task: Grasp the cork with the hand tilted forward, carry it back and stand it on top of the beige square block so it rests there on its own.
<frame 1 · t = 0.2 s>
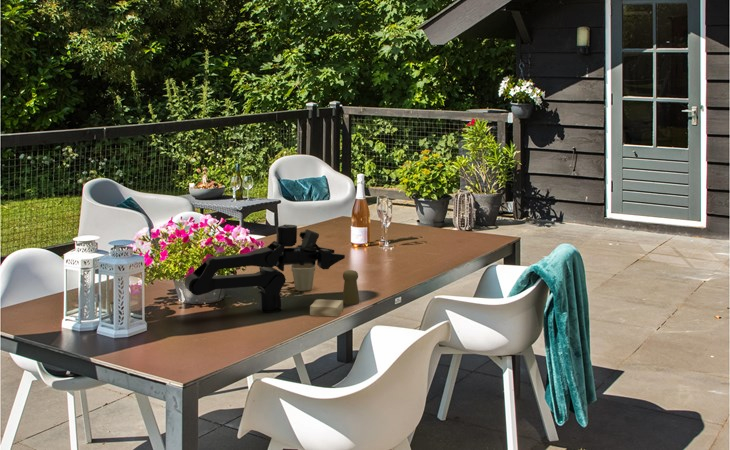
hand: (339, 253, 322), 17 cm above the table, tool horizontal, fingers open, 9 cm apart
beige square block: (326, 312, 312), on the table
flower pot: (303, 289, 342), on the table
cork: (350, 302, 324), on the table
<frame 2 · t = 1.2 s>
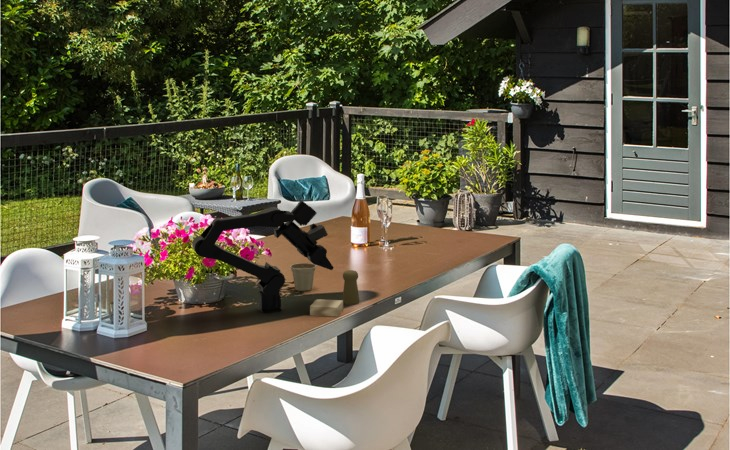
hand: (328, 266, 319), 13 cm above the table, tool tilted 45°, fingers open, 9 cm apart
nothing on the table moved.
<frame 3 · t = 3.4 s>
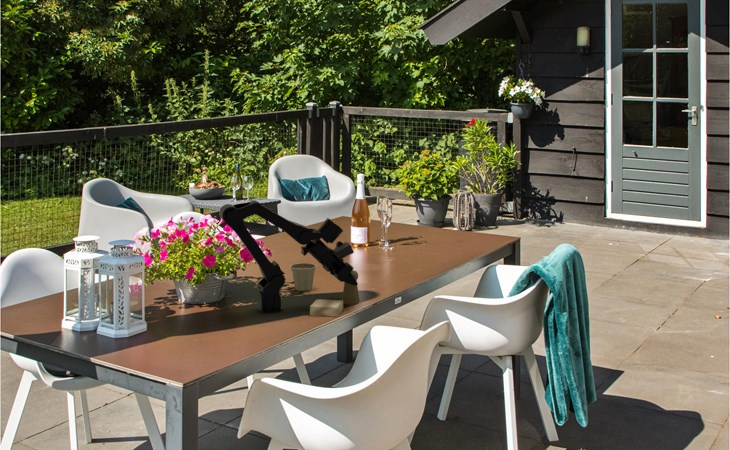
hand: (354, 283, 323), 7 cm above the table, tool tilted 45°, fingers closed on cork, 5 cm apart
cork: (350, 302, 324), on the table, touching gripper
everything else where it was.
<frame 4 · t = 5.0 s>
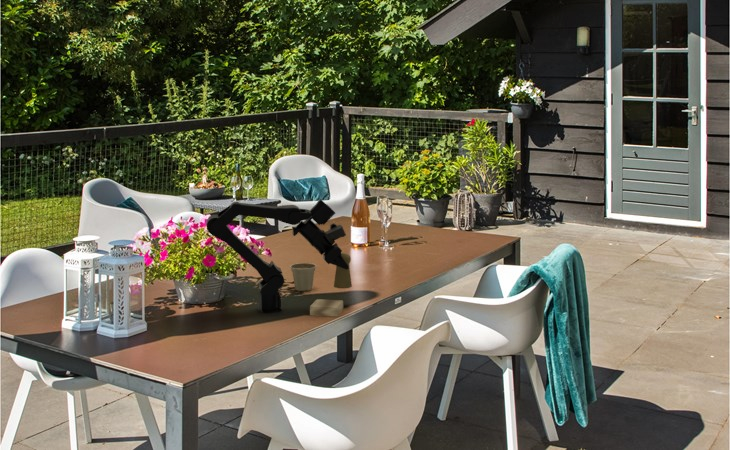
hand: (346, 266, 317), 13 cm above the table, tool tilted 45°, fingers closed on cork, 5 cm apart
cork: (342, 286, 318), point 7 cm above the table, touching gripper
everything else where it was.
when the fingers open (10 cm above the table, at t = 6.8 s): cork stays where it is, resting on beige square block.
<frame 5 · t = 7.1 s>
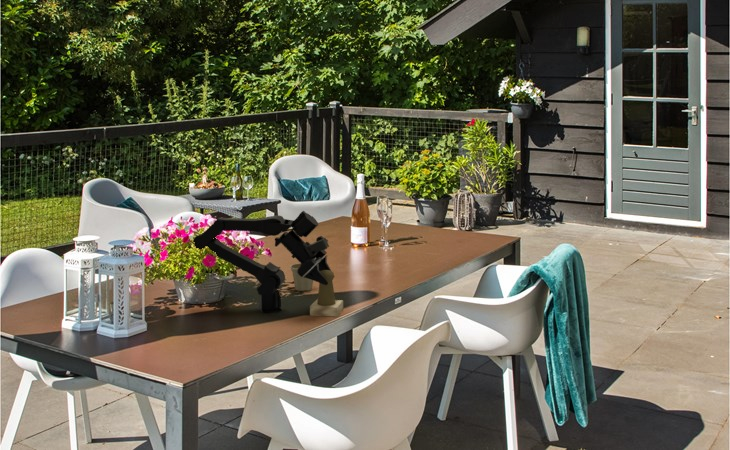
hand: (330, 281, 310), 11 cm above the table, tool tilted 45°, fingers open, 9 cm apart
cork: (326, 303, 311), point 3 cm above the table, touching beige square block
everything else where it was.
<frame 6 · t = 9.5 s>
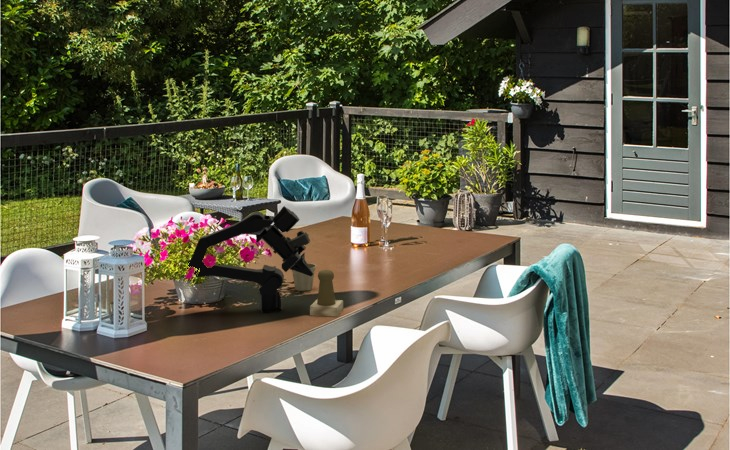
hand: (312, 275, 312), 12 cm above the table, tool tilted 45°, fingers closed
nothing on the table moved.
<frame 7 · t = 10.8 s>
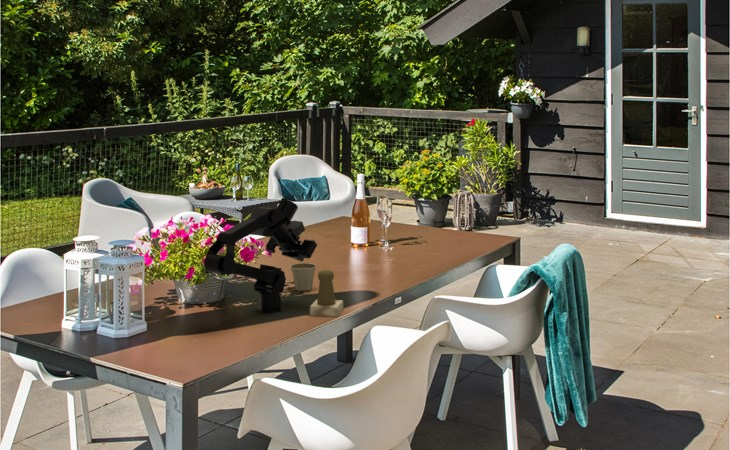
hand: (302, 260, 327), 14 cm above the table, tool tilted 45°, fingers closed
nothing on the table moved.
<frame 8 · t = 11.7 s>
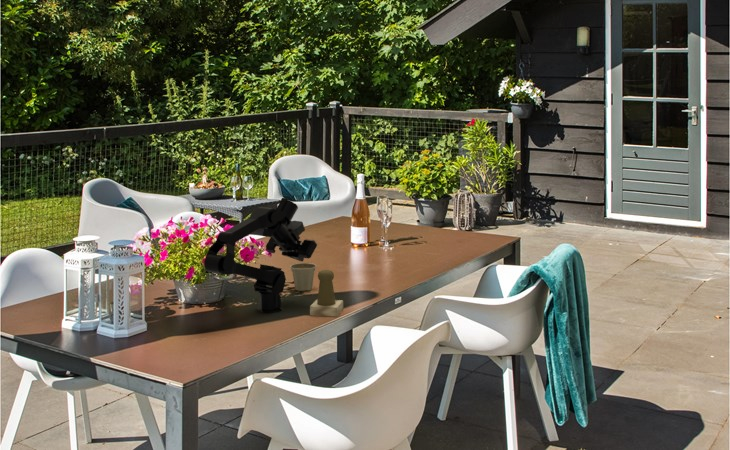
hand: (302, 260, 327), 14 cm above the table, tool tilted 45°, fingers closed
nothing on the table moved.
at the end: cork 0.1 cm from the beige square block (horizontally); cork point 2.8 cm above the table; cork tilted 0° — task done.
